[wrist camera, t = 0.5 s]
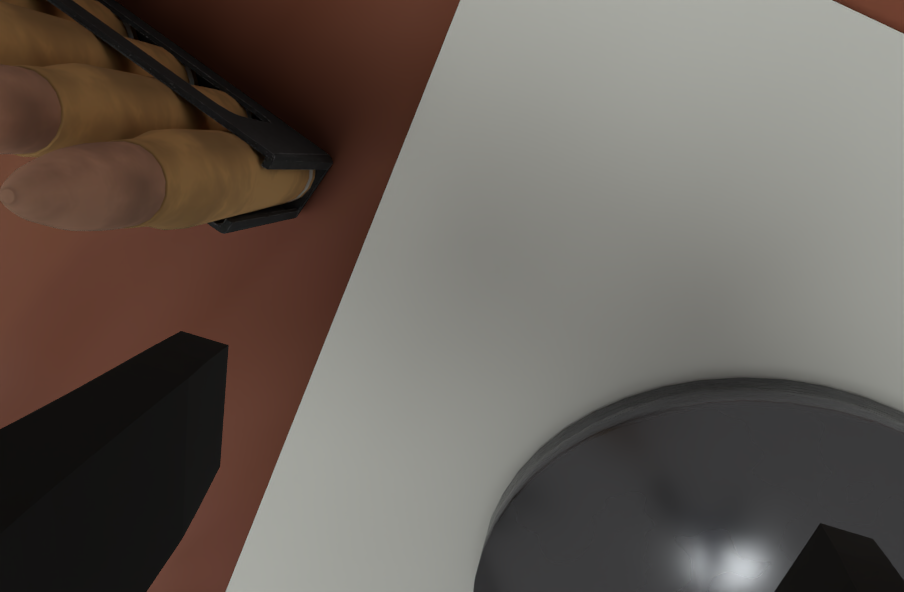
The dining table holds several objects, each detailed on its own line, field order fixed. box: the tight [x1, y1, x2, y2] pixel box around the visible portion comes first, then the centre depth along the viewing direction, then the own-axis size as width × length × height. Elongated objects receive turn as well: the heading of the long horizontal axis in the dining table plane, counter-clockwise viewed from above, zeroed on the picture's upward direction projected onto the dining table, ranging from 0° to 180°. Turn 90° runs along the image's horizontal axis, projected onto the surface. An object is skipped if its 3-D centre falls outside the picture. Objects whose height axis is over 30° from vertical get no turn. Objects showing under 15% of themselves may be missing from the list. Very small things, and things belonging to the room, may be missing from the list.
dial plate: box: [226, 0, 904, 592], centre depth 22 cm, size 26×28×1 cm
